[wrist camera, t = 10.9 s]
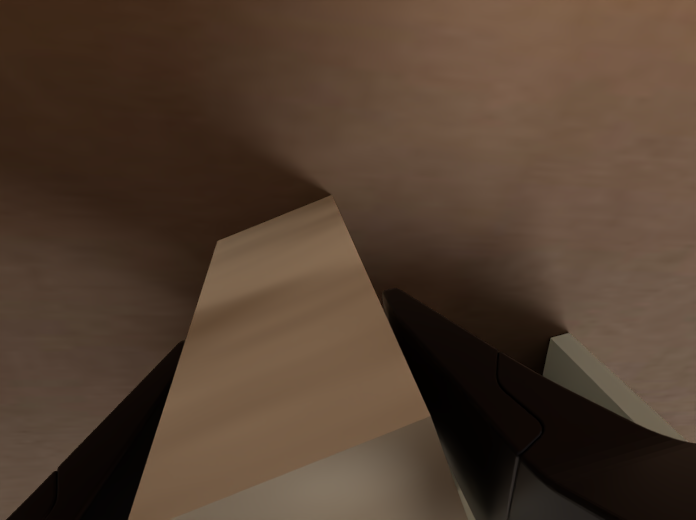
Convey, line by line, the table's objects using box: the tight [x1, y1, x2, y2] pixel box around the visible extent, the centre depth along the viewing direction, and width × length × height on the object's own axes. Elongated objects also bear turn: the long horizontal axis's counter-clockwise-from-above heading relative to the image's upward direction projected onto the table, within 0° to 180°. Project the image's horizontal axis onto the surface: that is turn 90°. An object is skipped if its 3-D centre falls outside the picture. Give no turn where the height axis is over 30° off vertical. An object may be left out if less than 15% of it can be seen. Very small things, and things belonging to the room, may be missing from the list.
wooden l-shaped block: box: [128, 195, 468, 520], centre depth 12 cm, size 16×4×8 cm, turn 19°
